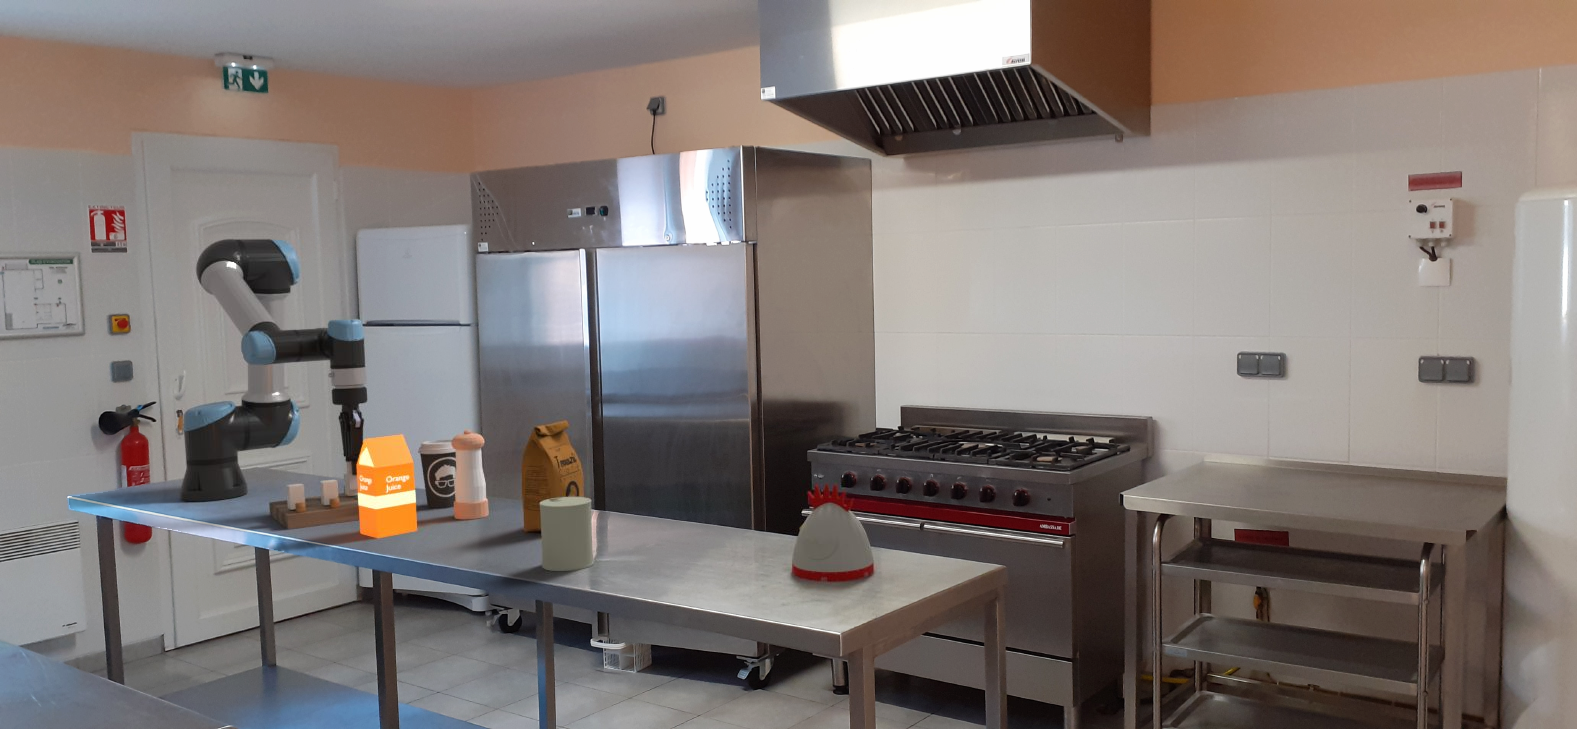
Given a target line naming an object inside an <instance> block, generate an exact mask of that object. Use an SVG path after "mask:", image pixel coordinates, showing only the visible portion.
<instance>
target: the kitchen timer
mask: <svg viewBox="0 0 1577 729" xmlns="http://www.w3.org/2000/svg"><path fill="white" fill-rule="evenodd" d="M846 493H847V492H846V490H844V491H842V493H841V494H840V496H839V491H838V485H837V484H836V483H835V484H834V485H833V486H832V491H831V492H830V488H829V483H827V484H825V486H824V489H823V494H822V493H821V490H820V487H819V485H818V484H815V485H814V495H813V494H812V492H811V491H810V490H809V491H807V492H806V494H807V498H808V500H809V502H810V503H811V506H812V507H813V511H812V512H810V514H809V515H808V516H807V517H806V519H805V520H804V523H803V524H802V525H801V526H800V527H799V533H798V535H797V537H796V538H797V539H796V542H795V545H794V549H793V553H792V562H791V572H792V574H793V576H795V577H796V578H799V579H802V580H805V581H811V582H812V581H814V582H825V583H826V582H829V583H834V582H837V583H838V582H848V581H855V580H860V579H864V578H866V577H869V576H871V575H873V573H874V570H875V568H874V563H875V562H874V554H873V550H872V547H871V544H870V541H869V537H868V535H867V532H866V530H865V528H864V526H863V525H862V523H861V521H860V519H859V518H858V517H857V516H856V515H855V513H854V512H852V511H851V508H852V506H853V504H854V500H855V499H854V498H853V497H852V498H851V499H850V500H849V502H848V503H847V504H845V498H846Z"/></svg>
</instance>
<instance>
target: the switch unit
mask: <svg viewBox="0 0 1577 729" xmlns="http://www.w3.org/2000/svg"><path fill="white" fill-rule="evenodd" d="M343 490H344V491H343V492H342V493H338V498H332V499H329V502H330V505H323V504H322V503H321V495H317V496H311V497H310V496H309V497H305V502H300V503H295V509H293V510H290V509H289V508H288V503H287V499H286V500H279V501H272V502H271V501H270V502H268V504H269V505H268V506H269V516H270V517H271V518H273V519H274V520H275V521H276V522H278V523H279V524H280V525H281V526H283V527H285V528H286V530H293V529H294V530H295V529H303V528H309V527H315V526H316V527H317V526H322V525H330V524H331V525H332V524H337V523H346V522H352V521H360V516H359V504H358V495H353V496H347V495H345V486H344V485H343Z"/></svg>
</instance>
